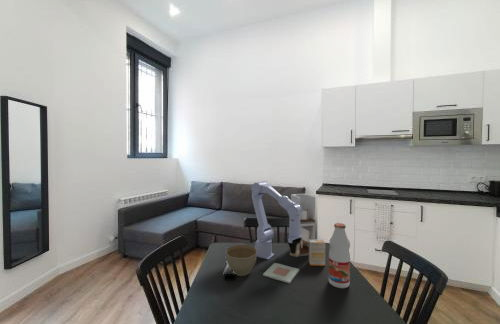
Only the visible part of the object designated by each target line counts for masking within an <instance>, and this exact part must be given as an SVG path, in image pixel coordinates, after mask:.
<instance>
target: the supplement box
mask: <svg viewBox="0 0 500 324" xmlns="http://www.w3.org/2000/svg"><path fill="white" fill-rule="evenodd" d="M308 262H309V266H315V267H317V266H319V267H325V266H326V241H325V240H324V239H320V238H319V239H309V255H308Z"/></svg>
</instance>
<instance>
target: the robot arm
mask: <svg viewBox="0 0 500 324" xmlns="http://www.w3.org/2000/svg"><path fill="white" fill-rule="evenodd" d="M250 189H251V200H252V205H253V208H254V212H255V217H256V219H257V225H258V226H257V229H256V238H257V240H256V241H255V243H254V248H255V249H256V250H257V256H256V258H257V257H258V258H260V259H264V260H270V259H271V258H272V257H273V256H275V253H273V252H272V251H273V249H272V246H273V245H272V243H273V242H272V240H273V238H274V237H275V231H274V230H273V228H272V225H270V223H268V219H267V215H266V212H265V211H266V210H265V208H264V203H263V199H262V197H263V196H264V194H268V195H270V196H271V197H272V198H274V199H275V200H277V203H278V205H280V206H281V207H282V208H283V209H284V210H286V211H287V215H288V218H289V223H288V224H289V225H288V227H289V230H288V231H289V233H288V238H287V240H286V242H287V244H288V247H289V252H290V251H291V253H293V254H295V252H296V246H297V243H300V241H301V239H302V236H301V231H300V215H299V214H301V213H302V207H301V206H300V205H299V204H295V202H292V201H291V198H289V196H286V195H282V194H280V193H279V192H278V191H277V190H276V189H275V188H274V187H273V186H271V184H270V183H269V182H268V181H267V180H263V181H258V182H254V183H253V184H252V185H251V187H250Z"/></svg>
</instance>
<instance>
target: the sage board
mask: <svg viewBox="0 0 500 324" xmlns="http://www.w3.org/2000/svg"><path fill="white" fill-rule="evenodd" d="M299 272H300V269H299V268H296V267H292V266H288V265H285V264H282V263H276V262H274V263H272V264H271V266H269V268H267V269H266V270H265V272H263V273H262V276H263V277H266V278H270V279H272V280H277V281H281V282H283V283H287V284H291V282H292V281H293V280H294V278H295V277H296V276H297V274H298V273H299Z"/></svg>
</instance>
